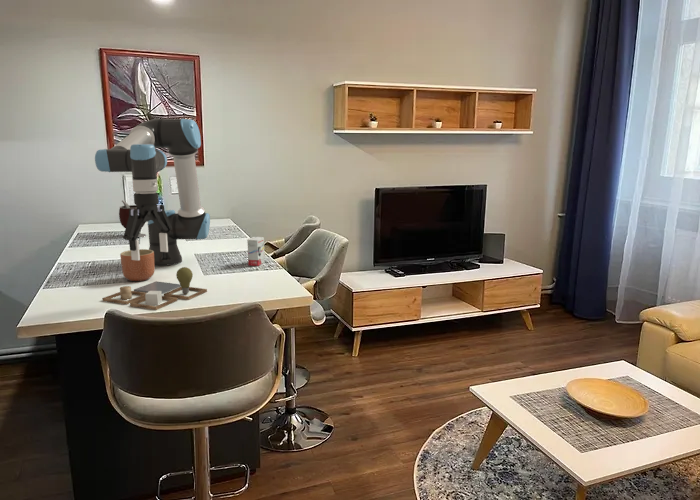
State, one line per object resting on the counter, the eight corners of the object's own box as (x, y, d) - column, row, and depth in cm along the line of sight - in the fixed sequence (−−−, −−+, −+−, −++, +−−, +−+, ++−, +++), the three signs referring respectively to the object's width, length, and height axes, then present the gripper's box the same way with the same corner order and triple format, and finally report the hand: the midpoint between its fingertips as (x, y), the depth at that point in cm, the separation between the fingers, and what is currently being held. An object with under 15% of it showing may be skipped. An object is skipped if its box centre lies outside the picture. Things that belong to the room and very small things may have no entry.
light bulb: (179, 292, 193) (177, 265, 191) (195, 291, 193) (193, 265, 191) (176, 296, 187) (174, 269, 185) (191, 296, 188) (190, 269, 186)
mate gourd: (152, 236, 300) (150, 201, 295) (131, 239, 288) (128, 203, 284) (135, 233, 308) (132, 199, 303) (114, 236, 296) (110, 201, 292)
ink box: (258, 266, 231) (257, 240, 229) (247, 265, 232) (246, 239, 230) (265, 262, 240) (264, 236, 237) (254, 261, 241) (254, 236, 238)
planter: (135, 285, 201) (133, 257, 199) (115, 280, 208) (113, 253, 205) (162, 278, 212) (160, 251, 209) (142, 273, 218) (140, 247, 216)
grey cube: (146, 305, 177) (145, 294, 177) (150, 301, 181) (149, 290, 180) (157, 305, 177) (157, 294, 177) (162, 302, 181) (161, 290, 180)
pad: (133, 291, 193) (133, 289, 193) (156, 282, 204) (156, 281, 204) (160, 294, 189) (160, 293, 189) (181, 286, 200) (181, 284, 200)
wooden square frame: (102, 300, 182) (102, 298, 181) (125, 292, 191) (125, 289, 191) (127, 304, 178) (126, 301, 178) (149, 295, 188) (149, 293, 188)
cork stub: (118, 299, 184) (117, 288, 183) (126, 296, 187) (125, 285, 186) (126, 300, 182) (125, 289, 182) (134, 297, 186) (133, 286, 185)
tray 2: (130, 306, 176) (130, 303, 176) (152, 297, 186) (152, 294, 186) (156, 309, 173) (155, 307, 172) (177, 300, 182) (177, 298, 182)
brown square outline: (163, 296, 187) (163, 293, 187) (182, 288, 197) (182, 286, 197) (188, 299, 184) (188, 297, 183) (207, 291, 193) (206, 289, 193)
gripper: (126, 196, 159) (132, 264, 163) (180, 189, 181) (183, 249, 186) (107, 195, 161) (113, 262, 166) (162, 188, 184) (166, 247, 189)
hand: (150, 255), depth 176 cm, fingers open, 13 cm apart
